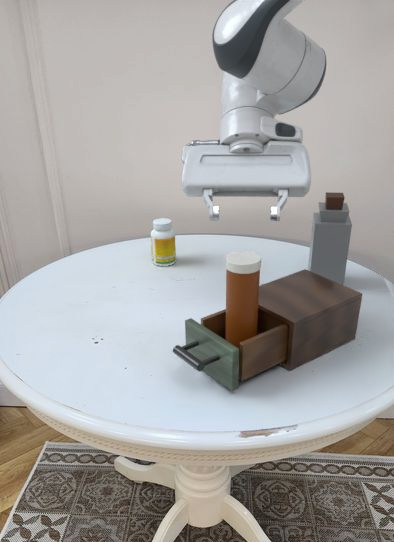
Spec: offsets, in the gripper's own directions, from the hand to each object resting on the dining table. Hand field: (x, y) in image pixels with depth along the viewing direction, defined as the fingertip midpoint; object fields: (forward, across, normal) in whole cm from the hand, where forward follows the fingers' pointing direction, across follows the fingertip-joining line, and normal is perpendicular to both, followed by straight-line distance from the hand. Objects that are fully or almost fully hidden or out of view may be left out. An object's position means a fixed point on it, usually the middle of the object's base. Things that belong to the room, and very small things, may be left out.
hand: (244, 219), depth 83 cm
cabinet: (+16, +9, +13) cm, 22 cm away
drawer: (+22, -1, +5) cm, 22 cm away
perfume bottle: (0, +17, +29) cm, 34 cm away
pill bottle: (+20, 0, +5) cm, 21 cm away
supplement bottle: (-7, -18, +35) cm, 40 cm away
